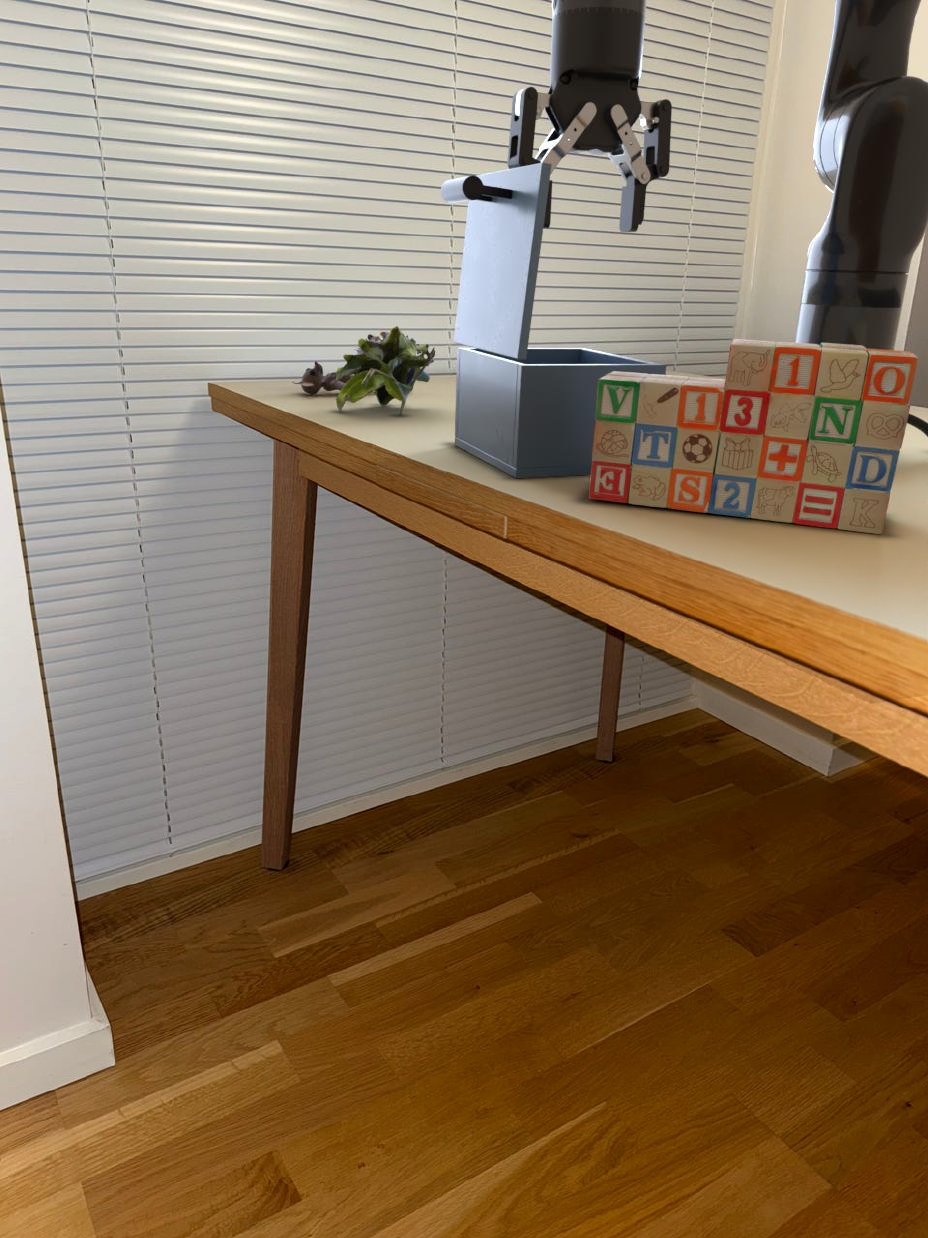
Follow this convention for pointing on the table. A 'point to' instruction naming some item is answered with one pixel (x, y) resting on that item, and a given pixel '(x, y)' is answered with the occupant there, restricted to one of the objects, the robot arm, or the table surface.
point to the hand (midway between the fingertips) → (585, 230)
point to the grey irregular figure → (321, 380)
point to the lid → (499, 256)
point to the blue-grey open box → (534, 407)
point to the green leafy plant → (384, 368)
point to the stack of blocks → (760, 435)
